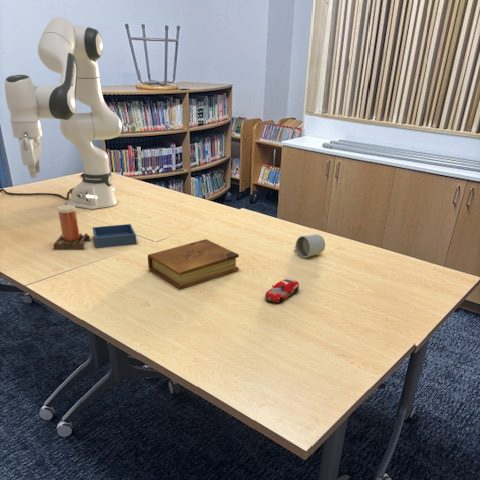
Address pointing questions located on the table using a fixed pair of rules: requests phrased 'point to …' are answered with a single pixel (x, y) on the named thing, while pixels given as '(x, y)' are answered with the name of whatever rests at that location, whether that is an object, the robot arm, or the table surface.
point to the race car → (282, 290)
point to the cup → (68, 222)
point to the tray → (114, 235)
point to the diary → (192, 263)
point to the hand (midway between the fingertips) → (35, 175)
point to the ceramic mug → (310, 245)
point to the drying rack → (68, 245)
